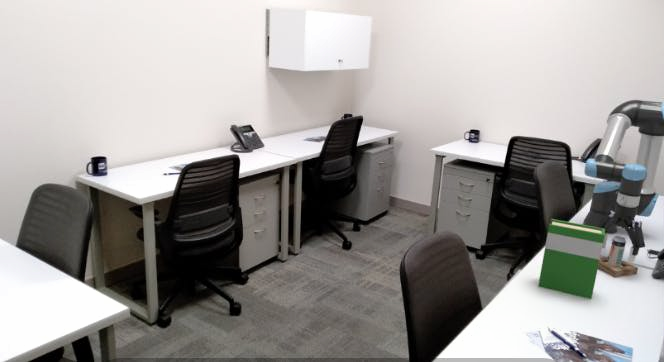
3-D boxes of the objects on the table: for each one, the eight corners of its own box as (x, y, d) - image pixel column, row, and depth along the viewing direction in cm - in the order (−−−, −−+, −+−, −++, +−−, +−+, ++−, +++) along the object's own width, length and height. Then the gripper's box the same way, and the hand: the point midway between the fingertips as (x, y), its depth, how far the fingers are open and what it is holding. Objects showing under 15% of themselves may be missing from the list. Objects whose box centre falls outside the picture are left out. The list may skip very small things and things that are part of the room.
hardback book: (538, 286, 192) (549, 224, 186) (540, 278, 198) (551, 218, 192) (591, 299, 185) (604, 235, 178) (591, 290, 191) (604, 228, 185)
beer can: (609, 262, 214) (615, 234, 210) (622, 266, 210) (628, 238, 207) (605, 265, 210) (611, 237, 207) (618, 269, 207) (624, 240, 204)
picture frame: (611, 261, 218) (612, 255, 218) (636, 274, 208) (638, 267, 207) (589, 264, 214) (590, 258, 213) (614, 277, 203) (615, 271, 203)
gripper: (593, 195, 213) (583, 244, 219) (649, 216, 191) (636, 269, 197) (607, 194, 216) (597, 242, 222) (663, 214, 194) (651, 267, 200)
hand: (615, 255), depth 209 cm, fingers open, 13 cm apart
